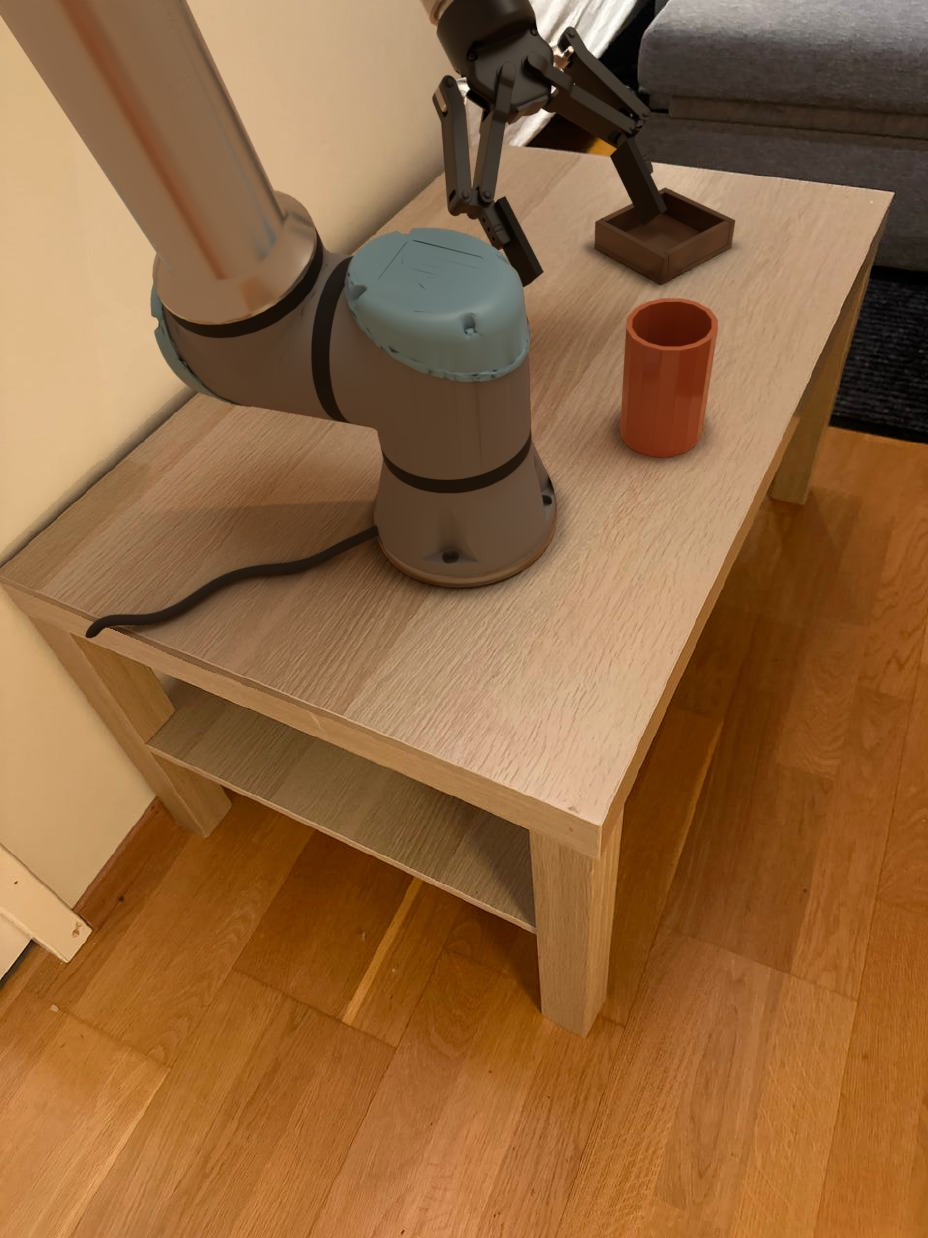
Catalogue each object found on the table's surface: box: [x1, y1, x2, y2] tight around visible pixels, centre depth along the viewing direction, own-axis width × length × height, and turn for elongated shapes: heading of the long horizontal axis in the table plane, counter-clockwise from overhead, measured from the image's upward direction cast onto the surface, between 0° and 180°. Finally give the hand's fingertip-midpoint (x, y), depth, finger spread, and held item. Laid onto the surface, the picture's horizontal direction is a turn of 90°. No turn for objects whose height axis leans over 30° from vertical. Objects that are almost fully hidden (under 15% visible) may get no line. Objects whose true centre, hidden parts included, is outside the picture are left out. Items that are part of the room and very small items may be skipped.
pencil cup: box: [619, 297, 719, 458], centre depth 76 cm, size 7×7×11 cm
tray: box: [593, 187, 736, 285], centre depth 98 cm, size 11×11×3 cm
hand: (596, 248), depth 75 cm, fingers open, 13 cm apart
